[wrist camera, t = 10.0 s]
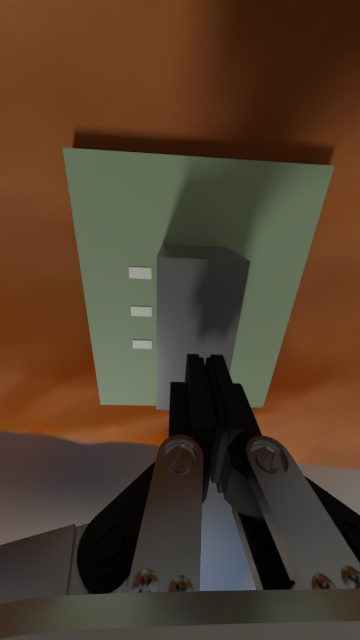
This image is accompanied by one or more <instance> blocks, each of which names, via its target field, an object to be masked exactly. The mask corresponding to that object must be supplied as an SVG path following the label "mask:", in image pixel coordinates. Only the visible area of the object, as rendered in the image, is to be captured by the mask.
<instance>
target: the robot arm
mask: <svg viewBox="0 0 360 640" xmlns="http://www.w3.org/2000/svg"><path fill="white" fill-rule="evenodd" d="M210 476H211V481H212V483H216V484H217V490H218V493H224V498H225V500H226V501H227V502H228V503H229V504H230V505H231V508H232V513H233V516H234V520H235V523H236V526H237V529H238V532H239V536H240V539H241V542H242V545H243V548H244V551H245V554H246V558H247V561H248V564H249V567H250V570H251V573H252V577H253V580H254V583H255V586H256V589H257V590H249V591H248V590H247V591H199V588H200V555H201V520H202V503H203V502H204V501H205V499H206V496H207V490H208V485H209V480H210ZM0 640H360V515H359V514H357V513H356V512H354V511H353V510H352V509H350V508H349V507H347V506H346V505H345V504H343V503H342V502H340V501H339V500H338V499H336V498H335V497H333V496H332V495H330V494H329V493H328V492H326V491H325V490H323V489H322V488H321V487H319V486H318V485H317V484H315V483H314V482H312V481H311V480H310V479H308V478H307V477H305V476H304V475H303V474H302V472H301V470H300V469H299V467H298V466H297V464H296V462H295V461H294V459H293V458H292V456H291V455H290V453H289V452H288V450H287V449H286V448H285V447H284V446H283V445H282V444H281V443H279V442H278V441H276V440H275V439H273V438H270V437H267V436H262V434H261V431H260V429H259V426H258V424H257V421H256V419H255V417H254V414H253V412H252V409H251V407H250V404H249V402H248V399H247V397H246V394H245V392H244V389H243V387H242V385H241V384H240V383H233V382H232V379H231V376H230V373H229V371H228V368H227V365H226V362H225V359H224V356H223V355H216V354H211V355H210V357H206V362H205V363H204V358H203V357H199V354H187V359H186V372H185V382H170V407H169V438H167V439H166V440H164V441H163V443H162V444H161V445H160V447H159V450H158V453H157V457H156V461H155V462H154V463H153V464H152V465H151V466H150V467H148V468H147V469H146V470H145V471H144V472H143V473H142V474H141V475H140V476H139V477H138V478H137V479H136V480H134V481H133V482H132V483H131V484H130V485H129V486H128V487H127V488H126V489H125V490H124V491H123V492H122V493H121V494H119V496H117V497H116V498H115V499H114V500H113V501H112V502H111V503H110V504H109V505H108V506H106V507H105V508H104V509H103V510H102V511H101V512H100V513H99V514H98V515H97V516H96V517H95V518H94V519H93V520H92V521H91V522H90V523H88V524H84V525H81V526H78V527H76V526H75V524H73V525H69V526H66V527H62V528H59V529H55V530H52V531H48V532H45V533H42V534H38V535H34V536H31V537H27V538H24V539H21V540H17V541H13V542H10V543H6V544H3V545H0Z"/></svg>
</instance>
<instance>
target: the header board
mask: <svg viewBox="0 0 360 640" xmlns="http://www.w3.org/2000/svg"><path fill="white" fill-rule="evenodd" d="M63 154H64V160H65V167H66V174H67V181H68V187H69V194H70V201H71V208H72V214H73V221H74V228H75V235H76V241H77V248H78V255H79V262H80V268H81V275H82V282H83V289H84V295H85V302H86V309H87V316H88V322H89V329H90V336H91V343H92V349H93V356H94V363H95V370H96V376H97V383H98V390H99V397H100V403H101V405H156V329H157V255H158V253H159V250H160V248H161V246H162V244H164V245H184V246H204V247H225V248H229V249H231V250H232V251H234V252H236V253H237V254H239V255H241V256H242V257H244V258H246V259H247V260H249V261H250V267H249V272H248V277H247V283H246V288H245V293H244V299H243V304H242V309H241V315H240V320H239V326H238V331H237V336H236V342H235V347H234V352H233V358H232V363H231V368H230V376H231V379H232V382H233V383H240V384H241V385H242V387H243V389H244V392H245V394H246V397H247V399H248V402H249V404H250V407H263V406H264V402H265V399H266V395H267V392H268V389H269V385H270V382H271V378H272V375H273V372H274V368H275V365H276V362H277V358H278V355H279V351H280V348H281V345H282V341H283V338H284V335H285V331H286V328H287V324H288V321H289V318H290V314H291V311H292V308H293V304H294V301H295V297H296V294H297V291H298V287H299V284H300V281H301V277H302V274H303V270H304V267H305V264H306V260H307V257H308V253H309V250H310V247H311V243H312V240H313V237H314V233H315V230H316V226H317V223H318V220H319V216H320V213H321V210H322V206H323V203H324V199H325V196H326V193H327V189H328V186H329V183H330V179H331V176H332V172H333V169H334V166H330V165H315V164H300V163H286V162H271V161H256V160H241V159H226V158H211V157H196V156H181V155H167V154H152V153H137V152H122V151H107V150H92V149H77V148H63Z"/></svg>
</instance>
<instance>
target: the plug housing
mask: <svg viewBox="0 0 360 640" xmlns="http://www.w3.org/2000/svg"><path fill="white" fill-rule="evenodd" d="M249 267H250V261H249V260H247V259H246V258H244V257H242V256H241V255H239V254H237V253H236V252H234V251H232V250H231V249H229V248H225V247H204V246H184V245H164V244H162V246H161V248H160V250H159V253H158V255H157V329H156V410H169V407H170V382H185V372H186V359H187V354H199V357H203V358H204V363H205V362H206V357H210V355H211V354H216V355H223V356H224V359H225V362H226V365H227V368H228V371H229V373H230V368H231V363H232V358H233V352H234V347H235V342H236V336H237V331H238V326H239V320H240V315H241V309H242V304H243V299H244V293H245V288H246V283H247V277H248V272H249Z"/></svg>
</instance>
